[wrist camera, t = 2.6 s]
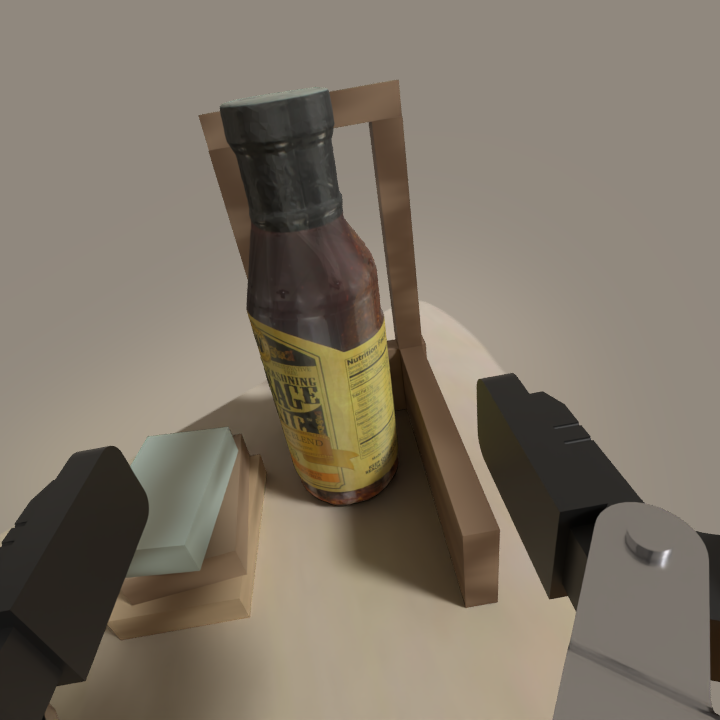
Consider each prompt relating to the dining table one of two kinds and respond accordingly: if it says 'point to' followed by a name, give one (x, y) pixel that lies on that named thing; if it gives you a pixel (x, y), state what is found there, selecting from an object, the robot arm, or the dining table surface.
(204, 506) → the offcut stack
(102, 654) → the dining table surface
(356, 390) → the sauce bottle
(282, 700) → the dining table surface
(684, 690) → the robot arm
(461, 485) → the walnut rack
